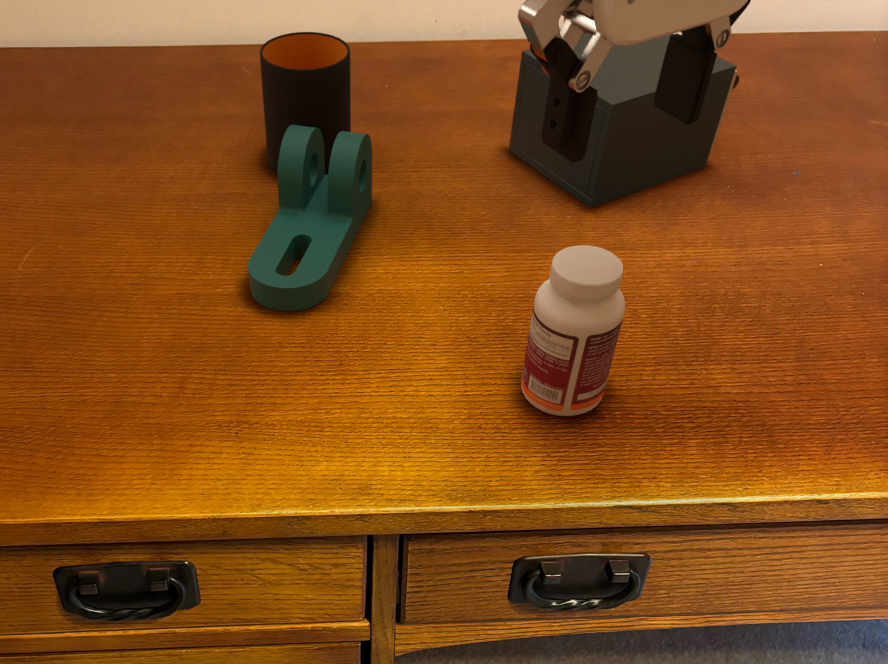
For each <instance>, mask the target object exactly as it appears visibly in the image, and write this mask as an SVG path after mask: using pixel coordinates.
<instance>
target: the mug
mask: <svg viewBox="0 0 888 664" xmlns="http://www.w3.org/2000/svg"><path fill="white" fill-rule="evenodd" d="M259 64H260V76H261V90H262V103H263V116H264V127H265V129H264V131H265V141H266V143H265V144H266V155H267V163H268V166H269V167H270V168H271V170H272V171H273V172H274V173H276V174H278V160H279V153H280V148H281V144H282V140H283V137H284V134H285V132H286V130H287V129H288V127H289V126H290V125H298V126H306V127H314V128H319V129H320V130H321V133H322V136H323V141H324V159H325V175H328V171H329V163H330V157H331V153H332V148H333V145H334V142H335V139H336V137H337V135H338V134H339V132H341V131H346V132H352V130H351V129H352V127H351V125H352V123H351V120H352V119H351V118H352V117H351V116H352V115H351V112H352V111H351V110H352V109H351V108H352V107H351V106H352V104H351V102H352V101H351V100H352V99H351V49H350V46H349V44H348V43H347V42H346V41H345V40H343V39H342V38H340V37H338V36H335V35H333V34H332V35H331V34H328V33H324V32H317V31H295V32H289V33H284V34H280V35H278V36H275V37H272V38H270V39H269V40H267V41H265V42H264V43H263V44H262V46H261V47H260V49H259Z"/></svg>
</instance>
